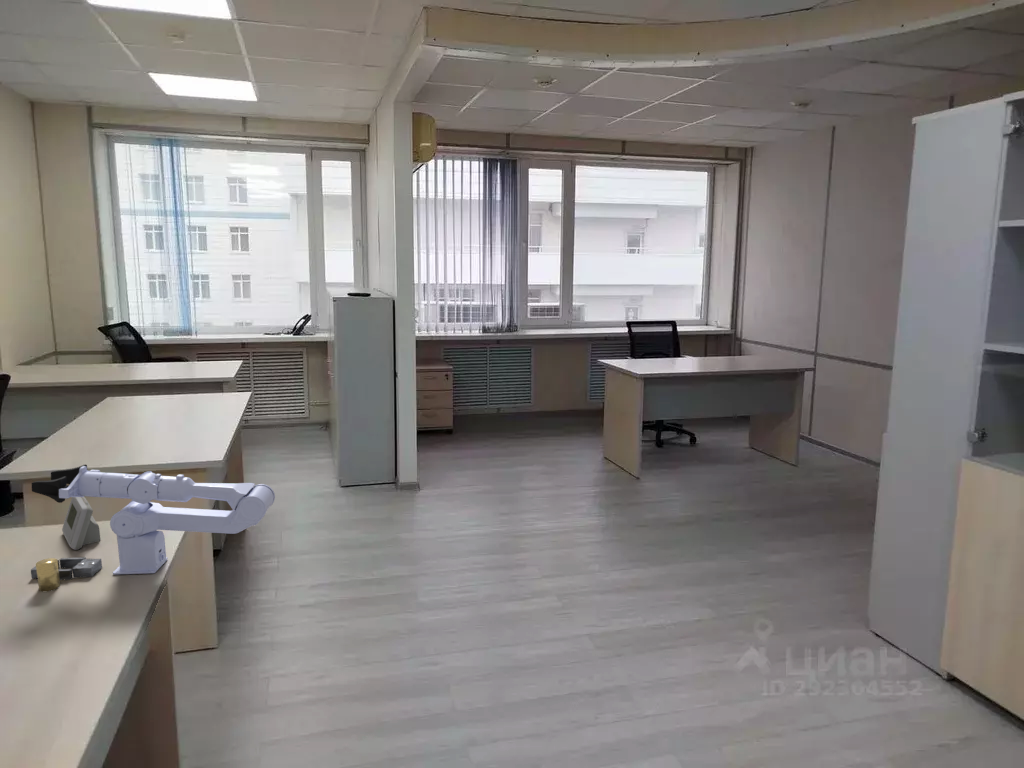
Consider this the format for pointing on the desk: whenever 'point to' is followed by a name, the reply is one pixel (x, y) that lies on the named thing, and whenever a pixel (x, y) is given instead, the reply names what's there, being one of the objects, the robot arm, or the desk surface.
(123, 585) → the desk surface
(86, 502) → the digital clock
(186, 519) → the robot arm
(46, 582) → the link pin
